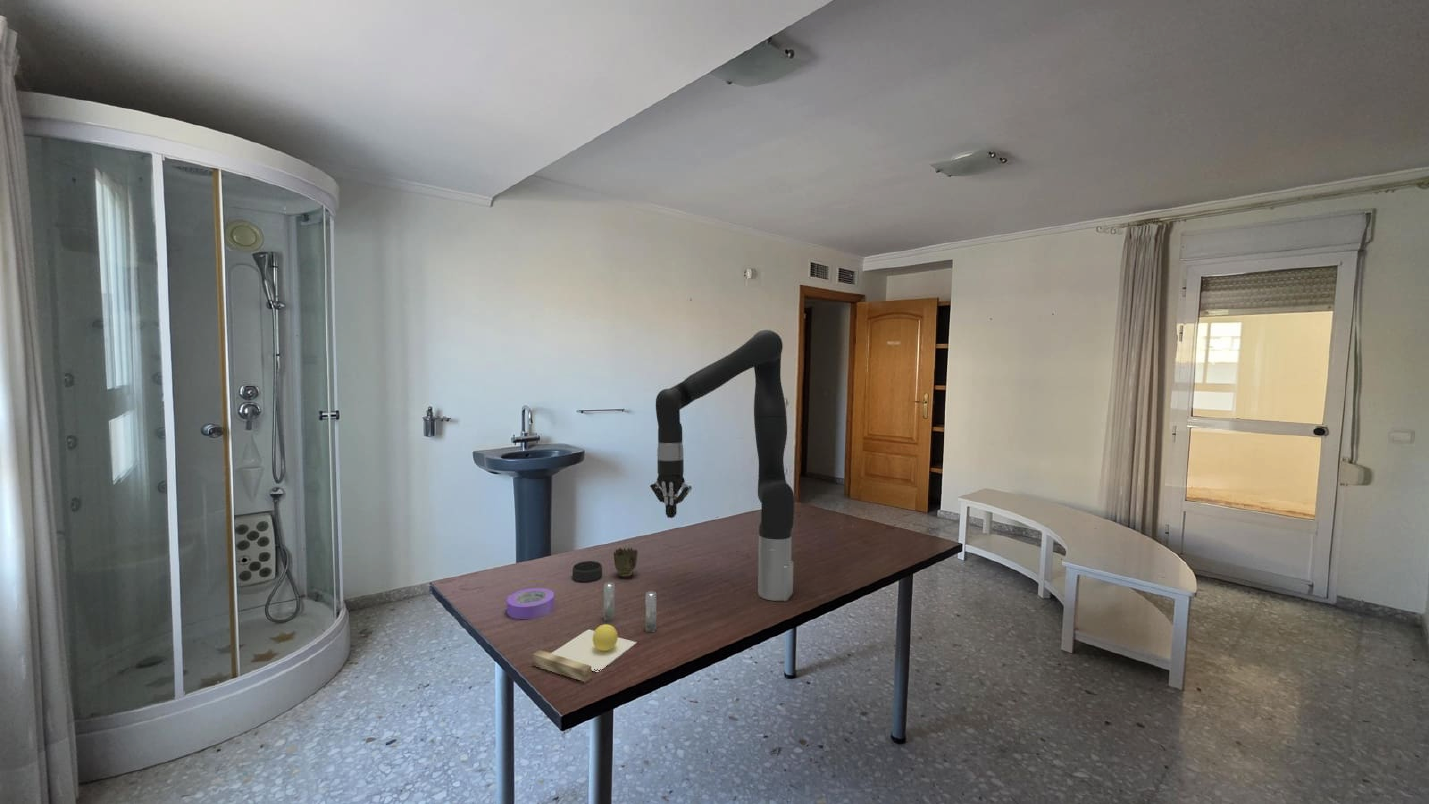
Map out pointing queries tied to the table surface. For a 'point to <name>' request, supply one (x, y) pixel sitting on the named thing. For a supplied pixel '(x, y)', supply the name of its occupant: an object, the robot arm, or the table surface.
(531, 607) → the masking tape
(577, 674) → the strip
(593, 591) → the table surface
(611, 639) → the ball
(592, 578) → the smart speaker
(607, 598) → the post left
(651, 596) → the post right
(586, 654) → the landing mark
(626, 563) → the cup
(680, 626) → the table surface
